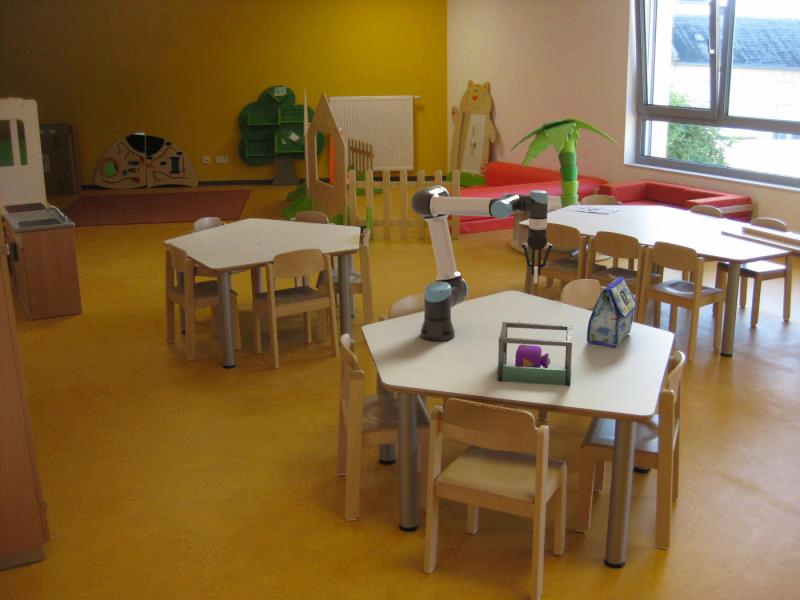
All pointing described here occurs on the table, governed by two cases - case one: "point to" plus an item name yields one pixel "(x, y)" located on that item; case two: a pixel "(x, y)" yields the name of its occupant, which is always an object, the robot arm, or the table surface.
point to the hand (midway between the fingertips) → (535, 282)
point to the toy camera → (531, 357)
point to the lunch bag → (612, 315)
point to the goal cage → (530, 372)
